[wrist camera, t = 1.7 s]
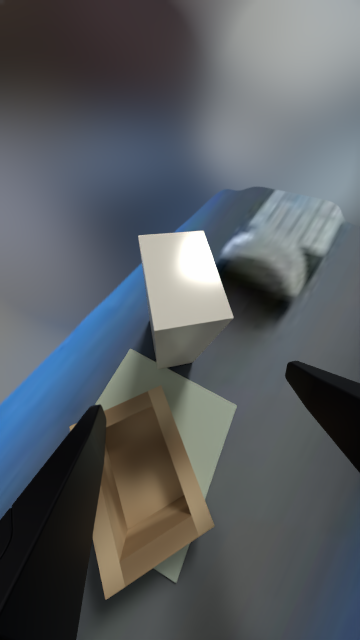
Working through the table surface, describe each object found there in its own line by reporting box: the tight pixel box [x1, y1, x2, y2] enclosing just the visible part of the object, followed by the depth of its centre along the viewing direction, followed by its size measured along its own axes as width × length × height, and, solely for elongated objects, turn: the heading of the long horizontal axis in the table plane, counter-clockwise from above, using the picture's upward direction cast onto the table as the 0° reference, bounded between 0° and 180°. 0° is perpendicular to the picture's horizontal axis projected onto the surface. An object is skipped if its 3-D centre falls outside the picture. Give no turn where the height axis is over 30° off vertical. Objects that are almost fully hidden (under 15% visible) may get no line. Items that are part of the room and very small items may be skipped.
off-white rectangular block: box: [138, 231, 234, 369], centre depth 16 cm, size 6×4×12 cm, turn 12°
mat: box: [95, 349, 237, 583], centre depth 18 cm, size 14×13×1 cm
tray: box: [69, 385, 214, 600], centre depth 15 cm, size 10×8×4 cm
